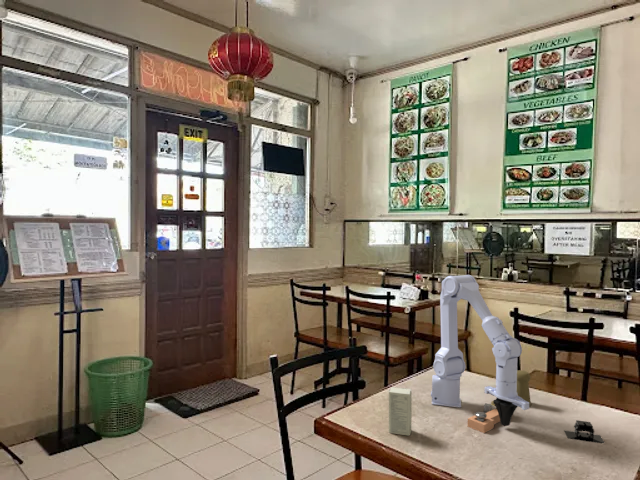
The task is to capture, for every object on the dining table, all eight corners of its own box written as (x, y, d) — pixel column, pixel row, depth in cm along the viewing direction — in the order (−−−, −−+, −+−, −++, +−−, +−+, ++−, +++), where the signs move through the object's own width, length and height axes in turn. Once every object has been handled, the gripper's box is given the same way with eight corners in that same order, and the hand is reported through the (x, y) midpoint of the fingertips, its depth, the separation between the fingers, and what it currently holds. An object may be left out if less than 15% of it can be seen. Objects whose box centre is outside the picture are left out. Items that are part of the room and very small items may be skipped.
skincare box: (411, 430, 130) (412, 389, 130) (409, 436, 126) (410, 394, 126) (390, 426, 132) (391, 386, 132) (387, 433, 128) (388, 391, 128)
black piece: (562, 440, 126) (562, 425, 126) (557, 429, 133) (557, 414, 133) (612, 448, 122) (613, 431, 122) (604, 436, 129) (605, 420, 129)
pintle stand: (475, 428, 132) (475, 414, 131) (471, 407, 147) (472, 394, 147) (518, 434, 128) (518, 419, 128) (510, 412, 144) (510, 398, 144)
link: (484, 433, 129) (484, 424, 129) (467, 426, 133) (467, 418, 133) (510, 418, 139) (511, 411, 139) (494, 413, 143) (494, 405, 143)
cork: (527, 400, 155) (527, 368, 154) (533, 407, 149) (534, 374, 148) (509, 399, 155) (509, 368, 155) (514, 406, 149) (515, 373, 149)
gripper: (536, 385, 127) (535, 432, 128) (496, 370, 140) (495, 413, 141) (520, 389, 124) (518, 437, 124) (480, 373, 137) (478, 417, 137)
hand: (505, 424), depth 132 cm, fingers closed
